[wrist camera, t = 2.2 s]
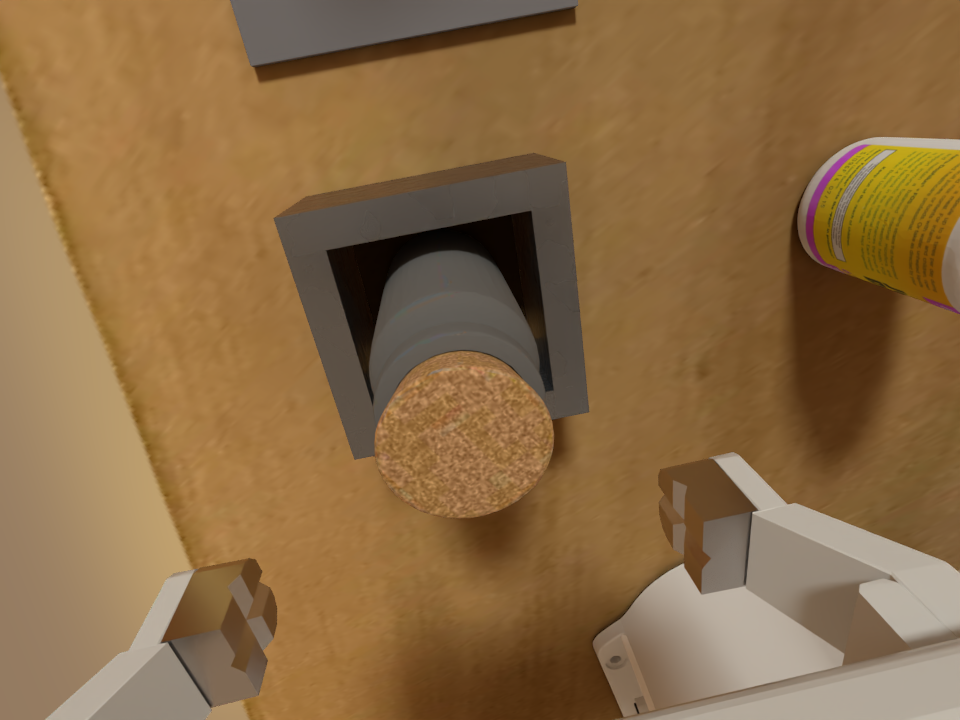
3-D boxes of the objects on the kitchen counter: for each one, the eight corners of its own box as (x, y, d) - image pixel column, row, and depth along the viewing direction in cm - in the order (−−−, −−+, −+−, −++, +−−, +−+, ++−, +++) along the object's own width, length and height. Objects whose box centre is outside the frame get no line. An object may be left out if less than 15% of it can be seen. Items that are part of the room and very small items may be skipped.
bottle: (413, 352, 28) (407, 562, 15) (367, 253, 26) (309, 397, 12) (514, 314, 28) (600, 494, 15) (476, 210, 26) (539, 310, 12)
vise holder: (568, 445, 32) (598, 511, 27) (392, 481, 32) (386, 555, 26) (534, 153, 25) (565, 161, 19) (305, 196, 25) (273, 218, 19)
